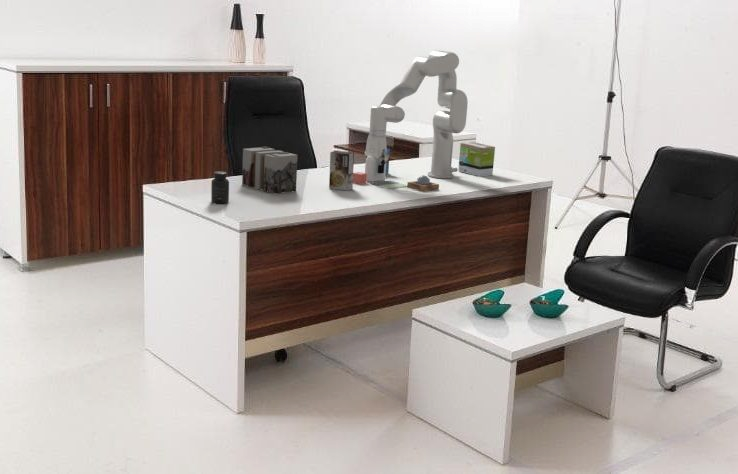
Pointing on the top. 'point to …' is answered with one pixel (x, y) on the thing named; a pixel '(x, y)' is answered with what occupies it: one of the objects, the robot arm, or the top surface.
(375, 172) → the photo printer
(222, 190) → the supplement bottle
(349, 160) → the coffee box
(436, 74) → the robot arm
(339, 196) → the top surface
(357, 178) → the die
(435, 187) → the frame
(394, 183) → the pad
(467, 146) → the tea box
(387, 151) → the blue retail box
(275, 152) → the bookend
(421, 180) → the dome
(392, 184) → the pad
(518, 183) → the top surface
